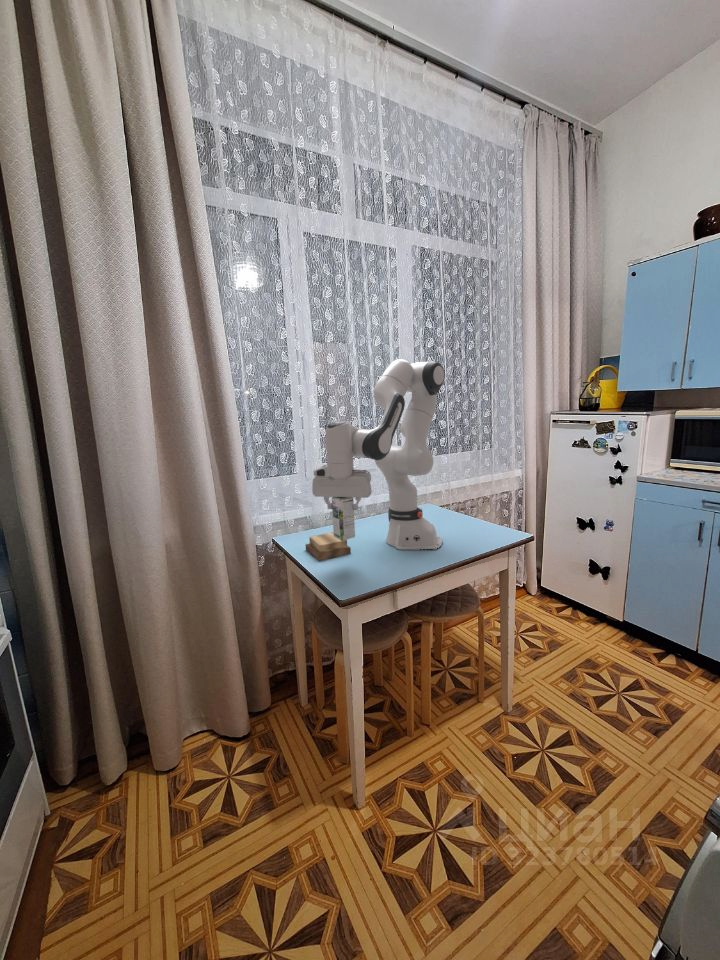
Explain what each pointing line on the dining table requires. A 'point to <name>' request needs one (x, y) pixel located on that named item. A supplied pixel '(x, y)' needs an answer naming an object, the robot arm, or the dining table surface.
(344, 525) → the syrup box
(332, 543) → the oak top slab
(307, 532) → the dining table surface
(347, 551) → the walnut base slab
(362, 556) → the dining table surface
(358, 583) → the dining table surface
